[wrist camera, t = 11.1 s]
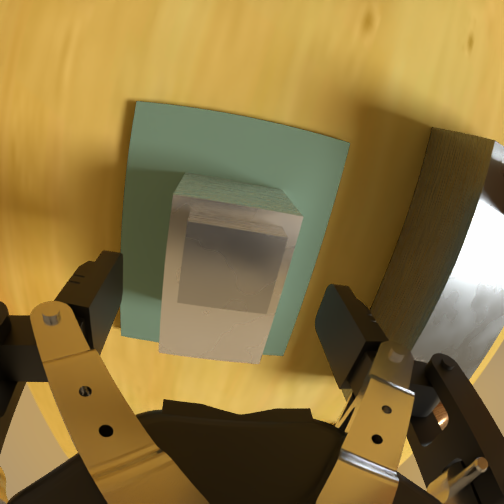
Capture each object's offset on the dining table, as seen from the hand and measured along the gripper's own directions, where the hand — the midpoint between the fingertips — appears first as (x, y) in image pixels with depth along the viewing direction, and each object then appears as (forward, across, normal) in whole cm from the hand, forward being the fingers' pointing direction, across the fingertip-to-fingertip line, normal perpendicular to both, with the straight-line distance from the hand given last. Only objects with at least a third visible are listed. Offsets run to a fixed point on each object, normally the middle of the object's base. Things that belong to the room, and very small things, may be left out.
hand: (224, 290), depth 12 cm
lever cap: (+4, 0, 0) cm, 4 cm away
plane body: (+5, -14, 0) cm, 15 cm away
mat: (+5, 0, 0) cm, 5 cm away
